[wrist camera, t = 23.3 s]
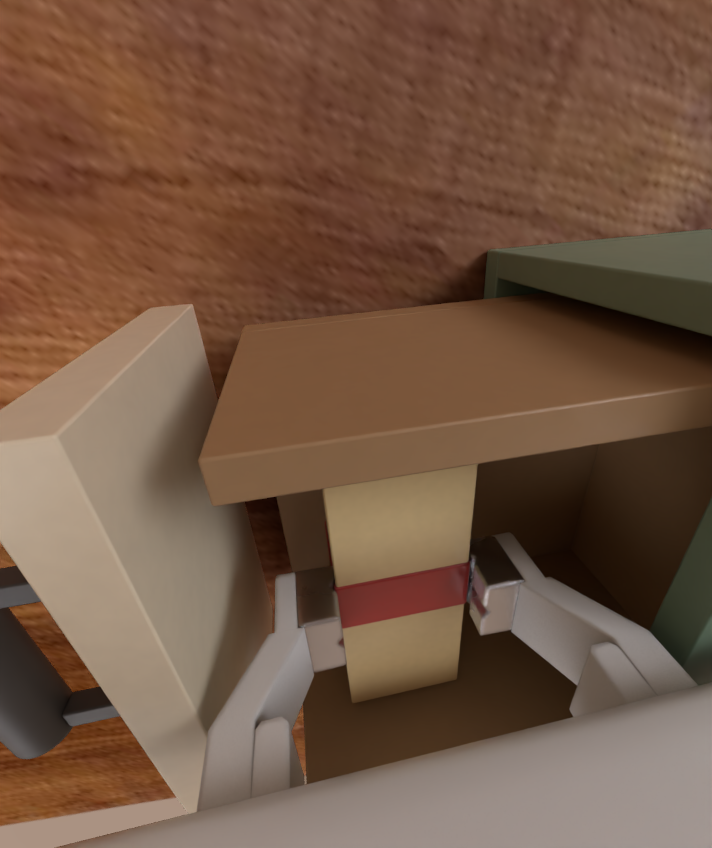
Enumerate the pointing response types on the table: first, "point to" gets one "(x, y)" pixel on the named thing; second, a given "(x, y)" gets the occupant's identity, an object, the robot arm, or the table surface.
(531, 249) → the cabinet
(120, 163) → the table surface
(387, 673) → the block
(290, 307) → the table surface
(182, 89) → the table surface
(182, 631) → the drawer
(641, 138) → the table surface
